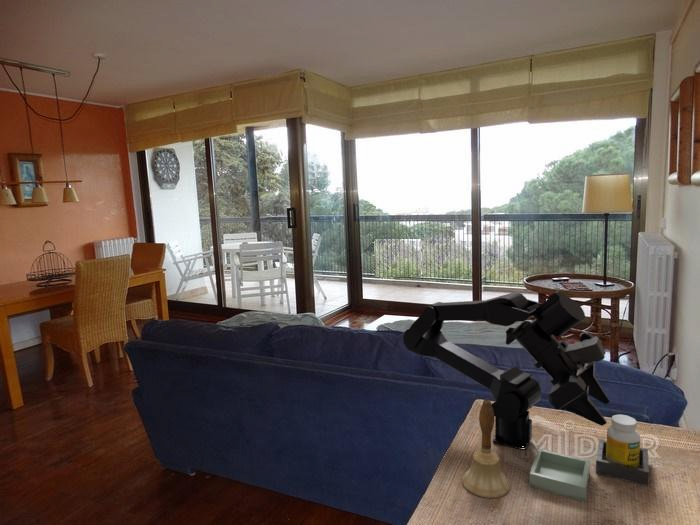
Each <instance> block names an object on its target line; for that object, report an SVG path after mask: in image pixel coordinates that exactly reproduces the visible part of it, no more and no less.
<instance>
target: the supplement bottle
mask: <svg viewBox="0 0 700 525" xmlns="http://www.w3.org/2000/svg"><path fill="white" fill-rule="evenodd" d="M610 424H611V425H609V426H608V428H607V430H606V441H607V443H606V455H605V460H607V461H611V462H615V463H620V464H624V465H629V466H633V467H637V468H640V462H639V453H640V448H641V434H640V433H639V431H638V430H637V428H638V426H637V424H638V422H637V420H636V419H635V418H634V417H631V416H630V415H626V414H615V415H612V416H611V419H610Z"/></svg>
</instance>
